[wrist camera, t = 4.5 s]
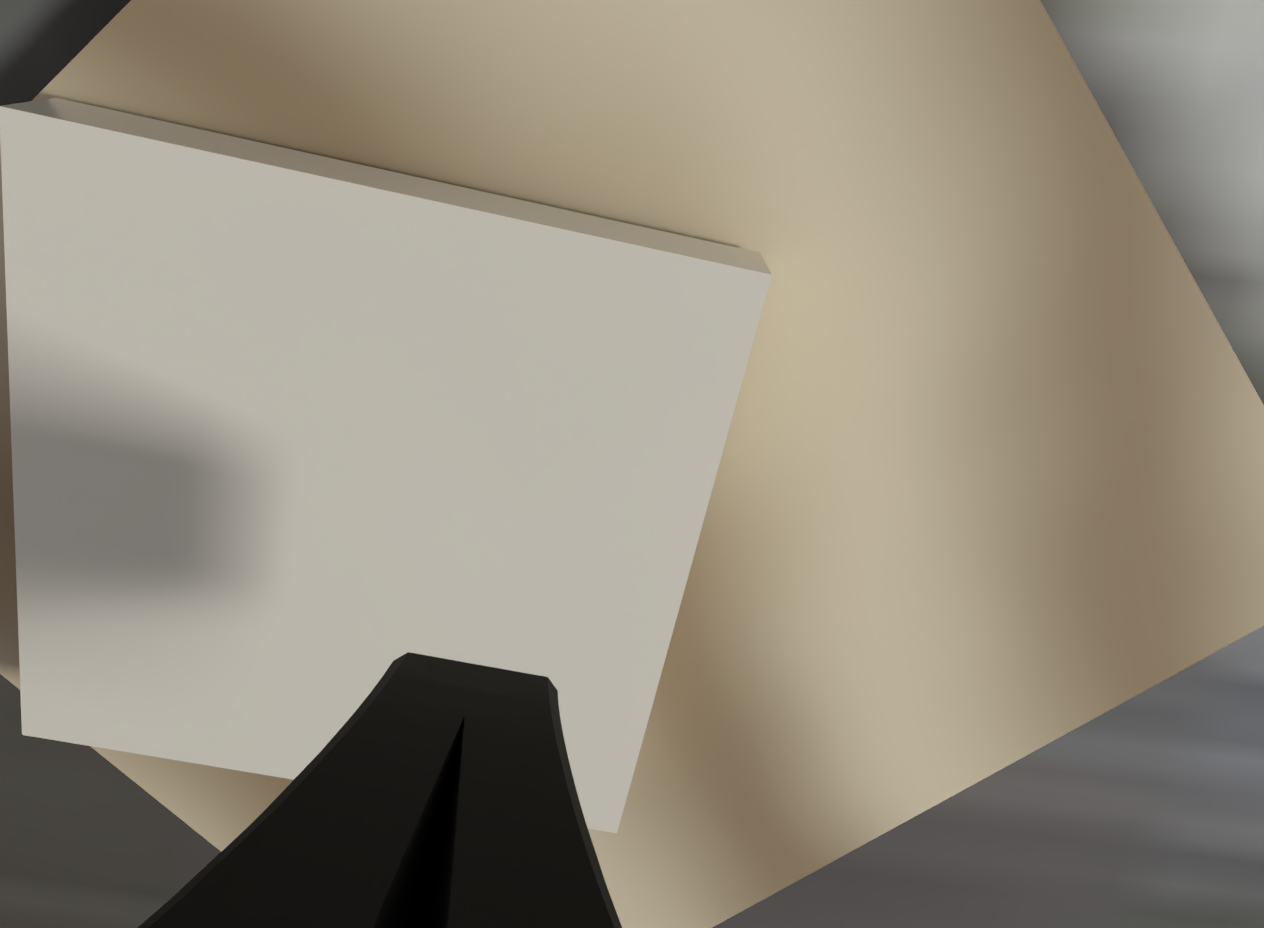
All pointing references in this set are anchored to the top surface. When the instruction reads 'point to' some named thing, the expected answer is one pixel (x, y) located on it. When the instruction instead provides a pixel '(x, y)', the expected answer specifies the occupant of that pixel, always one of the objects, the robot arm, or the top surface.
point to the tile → (343, 441)
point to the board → (806, 381)
